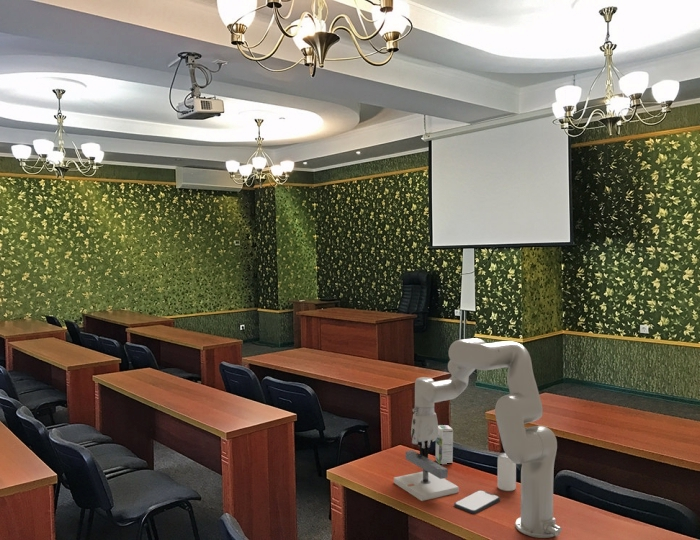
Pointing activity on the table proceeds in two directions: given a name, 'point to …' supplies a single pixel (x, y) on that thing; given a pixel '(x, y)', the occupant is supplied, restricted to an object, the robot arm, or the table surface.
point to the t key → (426, 465)
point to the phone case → (477, 502)
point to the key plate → (425, 486)
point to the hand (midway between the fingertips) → (424, 457)
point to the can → (506, 473)
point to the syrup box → (444, 445)
